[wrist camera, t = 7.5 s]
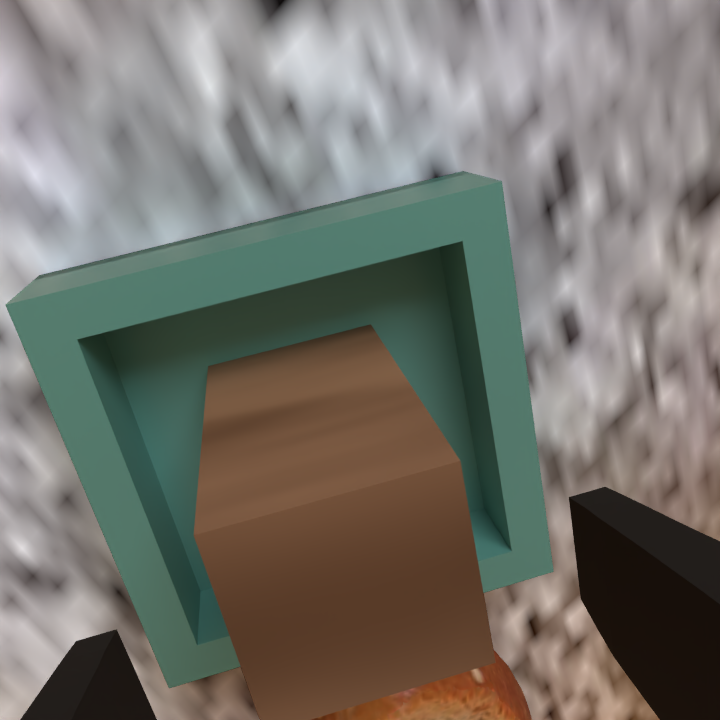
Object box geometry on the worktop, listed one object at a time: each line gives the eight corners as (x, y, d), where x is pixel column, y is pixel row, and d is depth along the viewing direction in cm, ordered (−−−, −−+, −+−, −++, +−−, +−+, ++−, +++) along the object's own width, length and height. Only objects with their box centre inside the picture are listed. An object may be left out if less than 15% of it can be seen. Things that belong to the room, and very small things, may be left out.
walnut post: (400, 464, 18) (496, 662, 12) (252, 506, 18) (264, 733, 11) (370, 324, 17) (460, 460, 10) (207, 365, 16) (193, 535, 10)
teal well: (516, 518, 20) (553, 571, 18) (176, 618, 19) (169, 688, 17) (463, 171, 16) (501, 181, 14) (39, 275, 15) (5, 304, 13)
